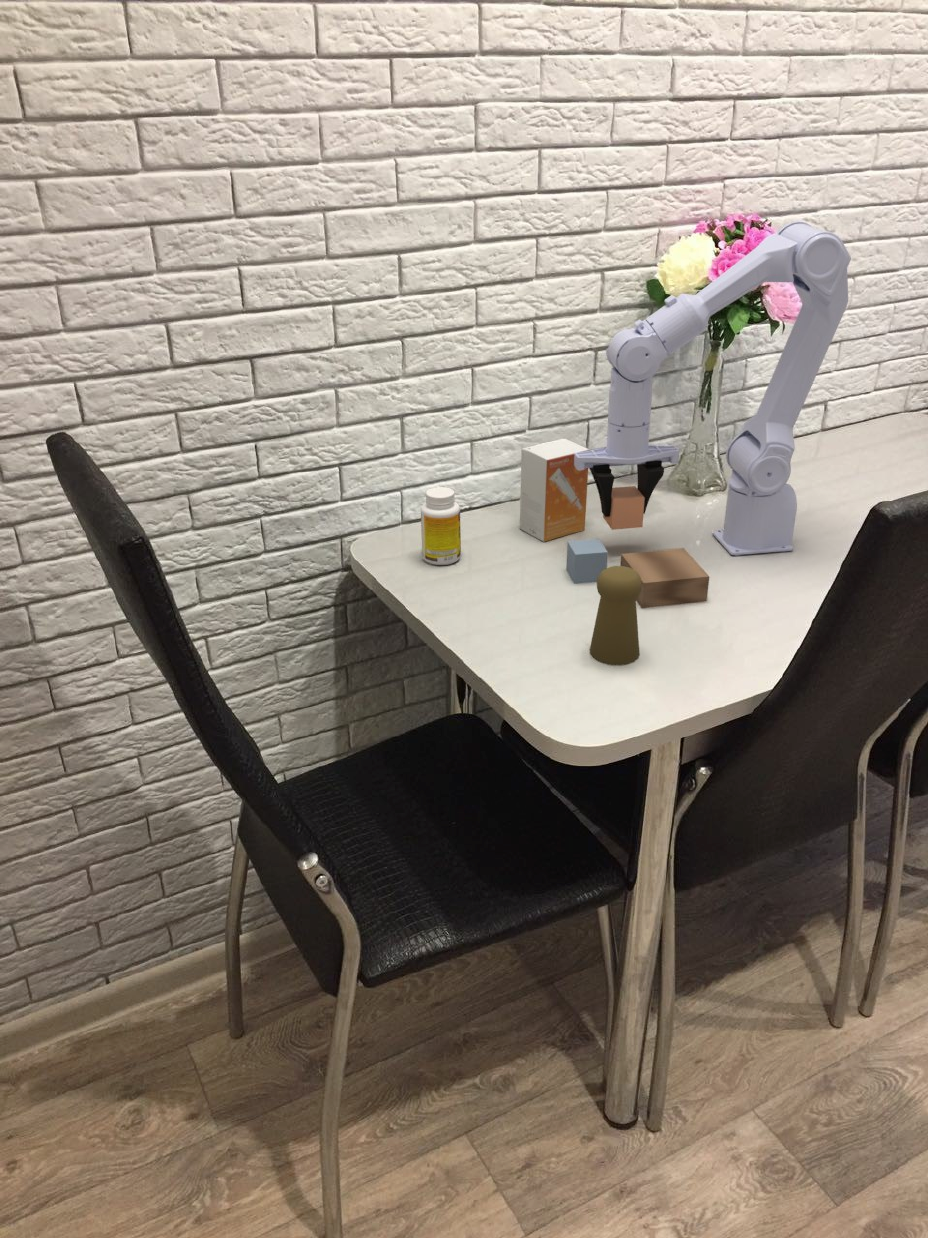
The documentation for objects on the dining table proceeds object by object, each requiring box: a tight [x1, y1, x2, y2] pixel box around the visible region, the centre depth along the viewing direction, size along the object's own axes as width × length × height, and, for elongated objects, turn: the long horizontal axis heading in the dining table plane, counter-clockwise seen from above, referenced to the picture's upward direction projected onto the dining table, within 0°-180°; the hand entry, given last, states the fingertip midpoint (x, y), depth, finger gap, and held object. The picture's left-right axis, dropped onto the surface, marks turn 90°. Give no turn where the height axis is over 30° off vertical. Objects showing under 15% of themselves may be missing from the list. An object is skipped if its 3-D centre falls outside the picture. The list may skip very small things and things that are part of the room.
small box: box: [519, 438, 590, 542], centre depth 154 cm, size 8×6×13 cm
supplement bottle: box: [420, 486, 462, 566], centre depth 146 cm, size 6×6×10 cm
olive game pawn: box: [589, 565, 642, 666], centre depth 122 cm, size 6×6×11 cm
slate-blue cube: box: [565, 538, 609, 585], centre depth 143 cm, size 4×4×4 cm
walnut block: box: [619, 547, 710, 609], centre depth 139 cm, size 9×9×4 cm
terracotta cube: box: [602, 485, 645, 531], centre depth 147 cm, size 4×4×4 cm
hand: (623, 512), depth 148 cm, fingers closed on terracotta cube, 4 cm apart
